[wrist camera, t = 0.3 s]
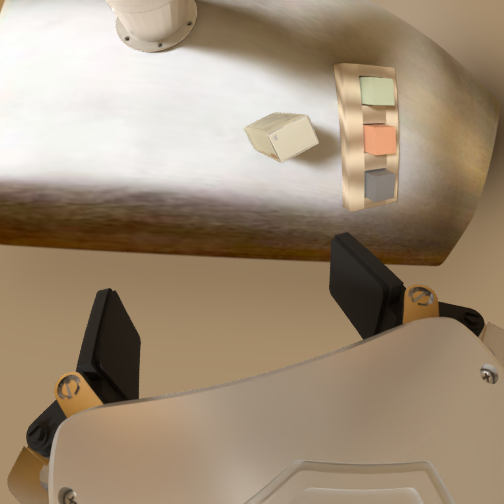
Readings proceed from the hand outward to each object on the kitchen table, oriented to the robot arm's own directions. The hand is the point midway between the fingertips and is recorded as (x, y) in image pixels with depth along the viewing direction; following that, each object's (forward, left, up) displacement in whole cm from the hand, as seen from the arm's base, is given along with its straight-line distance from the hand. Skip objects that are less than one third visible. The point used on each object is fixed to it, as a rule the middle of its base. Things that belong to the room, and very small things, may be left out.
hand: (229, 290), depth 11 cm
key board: (+2, +32, -36) cm, 48 cm away
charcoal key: (+11, +32, -34) cm, 48 cm away
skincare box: (-1, +12, -36) cm, 38 cm away
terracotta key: (+2, +32, -34) cm, 47 cm away
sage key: (-7, +32, -34) cm, 47 cm away
